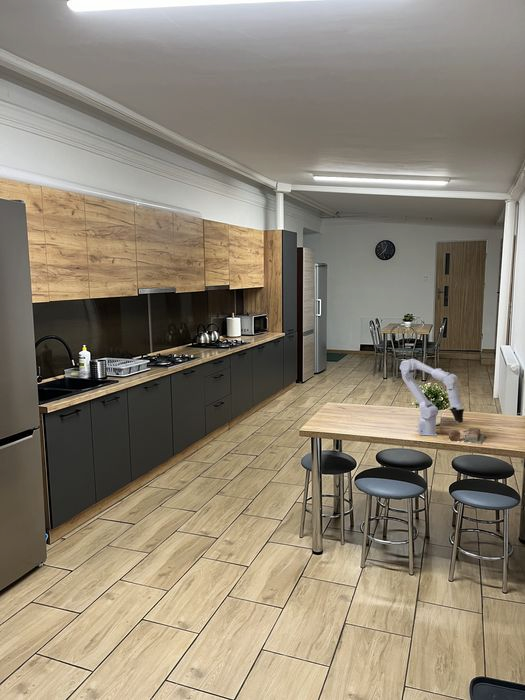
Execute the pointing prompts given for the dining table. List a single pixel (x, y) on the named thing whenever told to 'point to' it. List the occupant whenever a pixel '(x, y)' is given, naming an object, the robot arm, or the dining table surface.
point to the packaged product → (473, 436)
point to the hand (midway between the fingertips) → (459, 421)
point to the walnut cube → (454, 435)
